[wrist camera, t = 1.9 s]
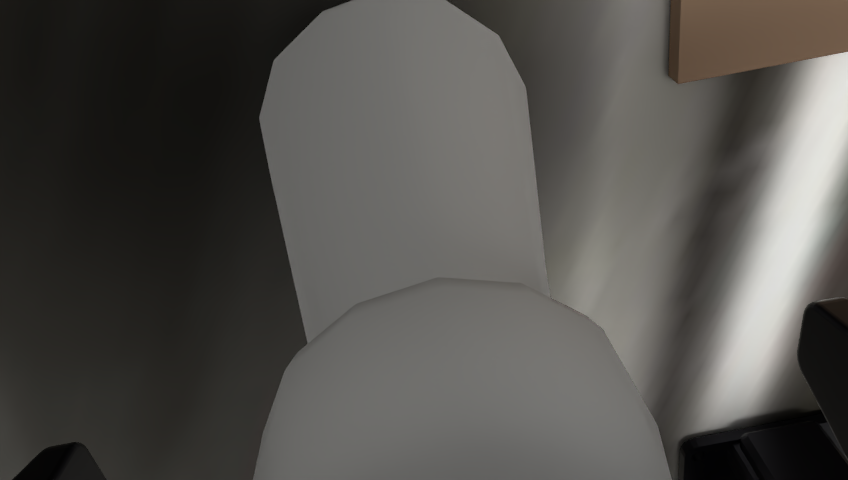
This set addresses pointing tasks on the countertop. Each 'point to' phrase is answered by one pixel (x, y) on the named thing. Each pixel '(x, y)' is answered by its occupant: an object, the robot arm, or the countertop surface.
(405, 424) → the salt shaker
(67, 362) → the countertop surface
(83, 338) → the countertop surface
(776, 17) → the walnut board
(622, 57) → the countertop surface
